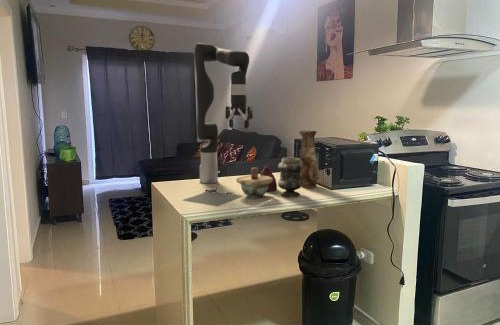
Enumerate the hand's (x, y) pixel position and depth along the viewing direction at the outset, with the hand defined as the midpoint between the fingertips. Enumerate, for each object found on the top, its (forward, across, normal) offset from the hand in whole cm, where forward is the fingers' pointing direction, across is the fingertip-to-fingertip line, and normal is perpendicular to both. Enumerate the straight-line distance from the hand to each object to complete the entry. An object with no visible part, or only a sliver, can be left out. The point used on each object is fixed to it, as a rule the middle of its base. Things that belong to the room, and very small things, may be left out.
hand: (238, 128), depth 187 cm
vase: (+32, +24, +30) cm, 50 cm away
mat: (+32, -3, -18) cm, 37 cm away
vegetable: (+32, +9, +12) cm, 36 cm away
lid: (+24, +12, -5) cm, 27 cm away
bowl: (+32, +12, -5) cm, 35 cm away
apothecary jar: (+32, +24, +8) cm, 41 cm away
